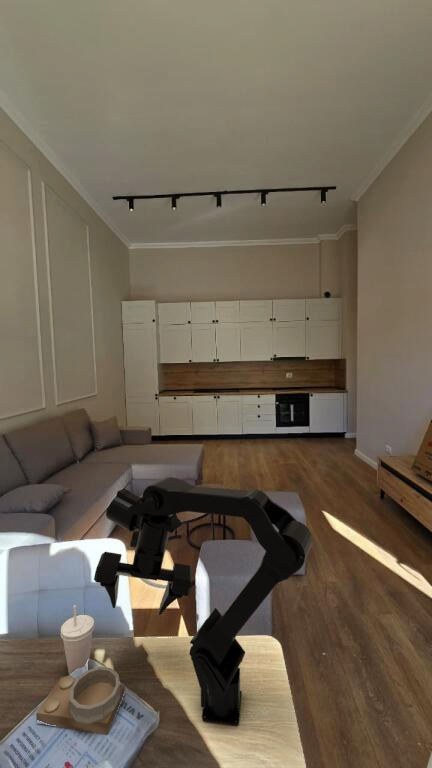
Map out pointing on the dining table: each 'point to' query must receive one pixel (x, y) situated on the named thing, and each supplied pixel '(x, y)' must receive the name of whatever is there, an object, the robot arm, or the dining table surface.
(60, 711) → the seat board
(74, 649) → the smoothie
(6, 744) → the dining table surface
